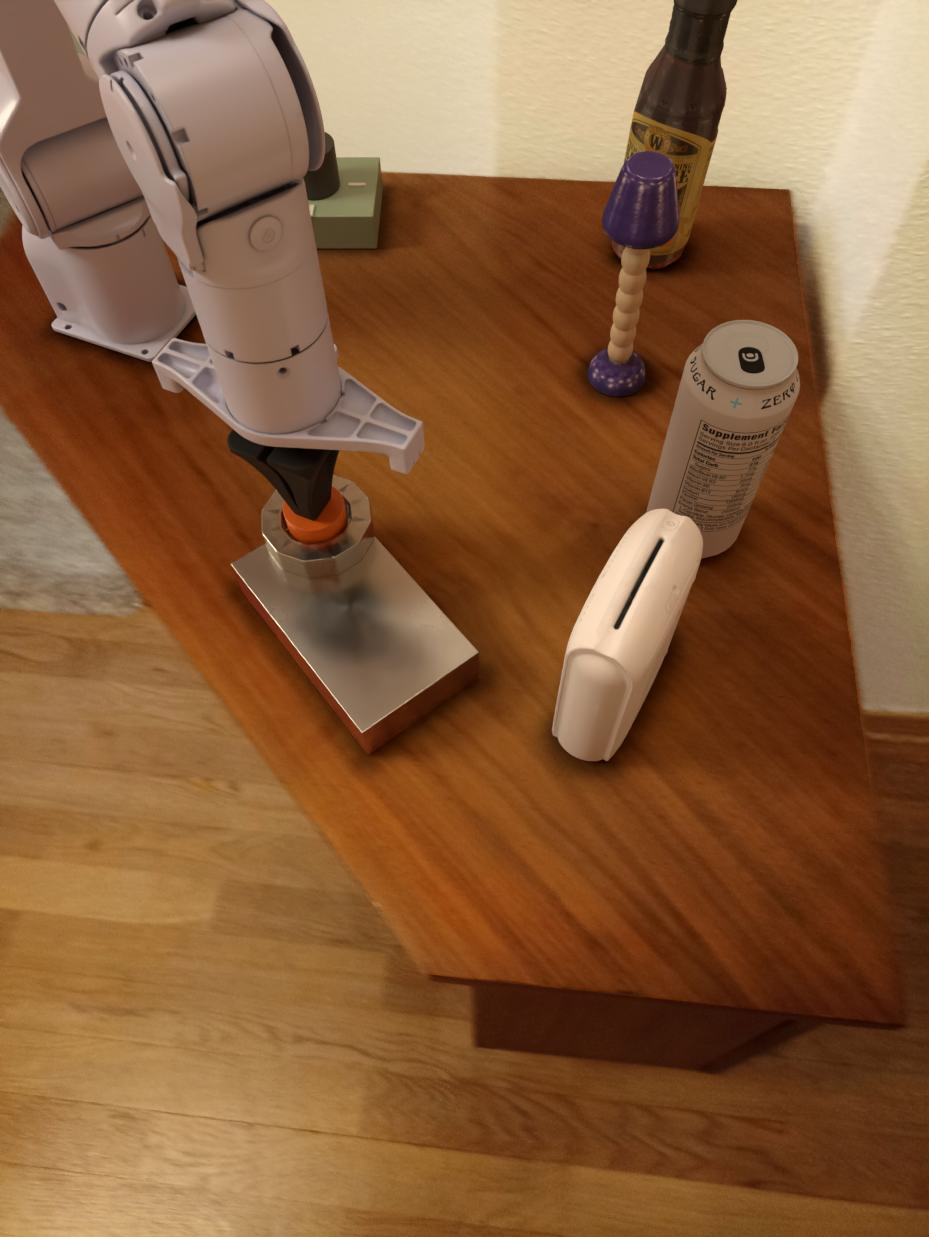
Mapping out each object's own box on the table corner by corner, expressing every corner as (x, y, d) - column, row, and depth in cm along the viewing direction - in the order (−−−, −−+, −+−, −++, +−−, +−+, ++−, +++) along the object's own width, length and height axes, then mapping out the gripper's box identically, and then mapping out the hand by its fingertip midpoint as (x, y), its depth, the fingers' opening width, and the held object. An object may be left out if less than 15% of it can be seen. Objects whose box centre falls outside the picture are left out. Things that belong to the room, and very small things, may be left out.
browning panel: (256, 249, 73) (247, 215, 70) (269, 189, 77) (261, 154, 74) (376, 249, 73) (373, 215, 70) (383, 189, 77) (379, 154, 74)
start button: (276, 519, 53) (271, 501, 52) (326, 490, 54) (322, 472, 53) (309, 558, 52) (304, 540, 50) (359, 527, 53) (356, 509, 52)
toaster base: (228, 574, 56) (207, 527, 52) (342, 506, 59) (331, 456, 55) (368, 755, 50) (357, 719, 46) (488, 670, 53) (489, 628, 48)
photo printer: (612, 606, 55) (644, 477, 44) (677, 634, 54) (726, 509, 43) (539, 742, 50) (556, 635, 40) (609, 776, 49) (644, 675, 39)
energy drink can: (729, 492, 59) (798, 311, 46) (742, 566, 56) (821, 395, 43) (639, 492, 59) (683, 311, 46) (648, 566, 56) (698, 395, 43)
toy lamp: (641, 406, 63) (688, 191, 49) (576, 397, 64) (605, 182, 50) (647, 360, 66) (694, 141, 51) (585, 351, 66) (614, 133, 52)
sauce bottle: (594, 256, 72) (631, -20, 55) (632, 216, 74) (678, -60, 57) (666, 286, 70) (727, 9, 53) (702, 243, 73) (771, -33, 55)
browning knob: (337, 200, 71) (330, 155, 68) (288, 200, 71) (279, 155, 68) (342, 170, 73) (335, 125, 70) (294, 170, 73) (285, 125, 70)
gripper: (447, 308, 40) (454, 495, 52) (181, 227, 43) (243, 421, 55) (375, 413, 37) (400, 588, 49) (93, 317, 40) (180, 503, 52)
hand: (313, 505), depth 52 cm, fingers closed, pressing on start button
